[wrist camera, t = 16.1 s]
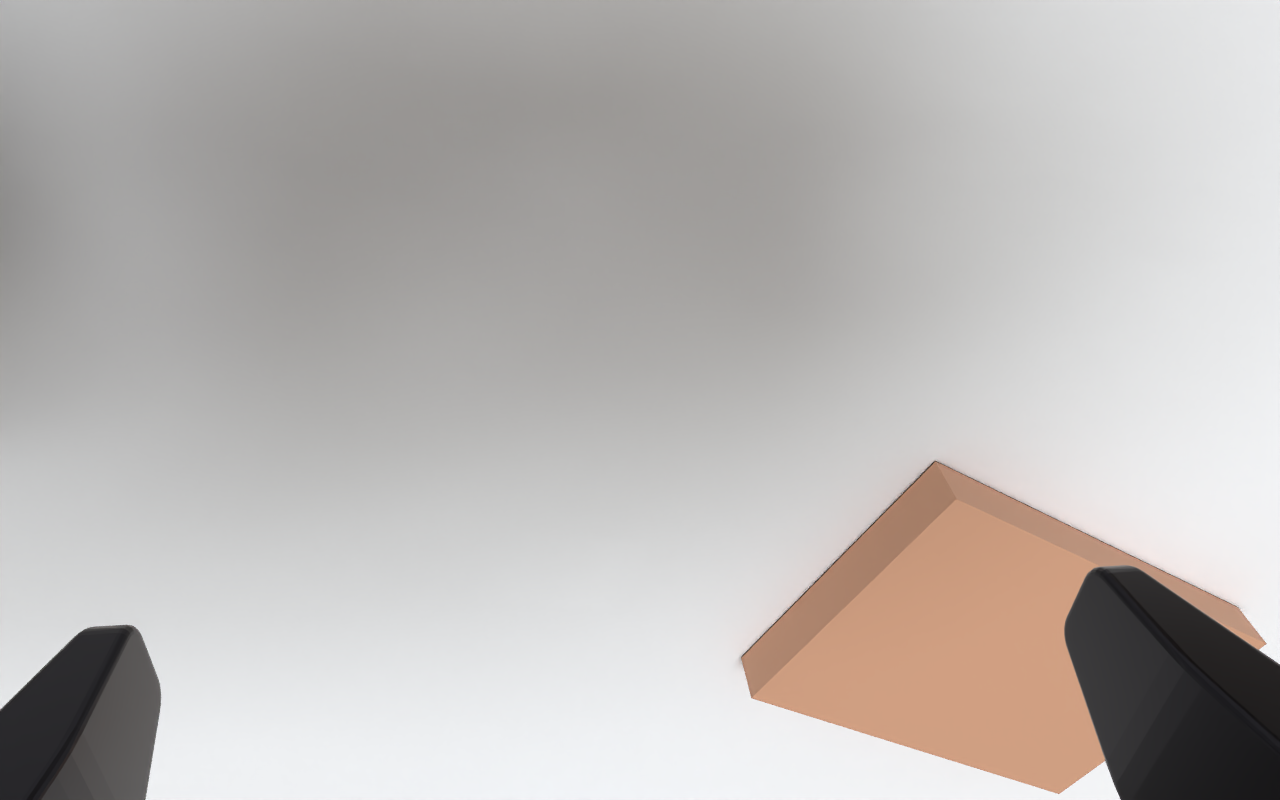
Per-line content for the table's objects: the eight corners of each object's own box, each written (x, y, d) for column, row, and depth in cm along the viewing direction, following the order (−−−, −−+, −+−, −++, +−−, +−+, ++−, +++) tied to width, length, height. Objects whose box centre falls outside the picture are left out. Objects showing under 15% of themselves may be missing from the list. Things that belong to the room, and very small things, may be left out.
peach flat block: (741, 657, 31) (751, 697, 30) (935, 461, 27) (956, 498, 26) (1040, 756, 37) (1059, 793, 35) (1238, 607, 32) (1266, 643, 31)
